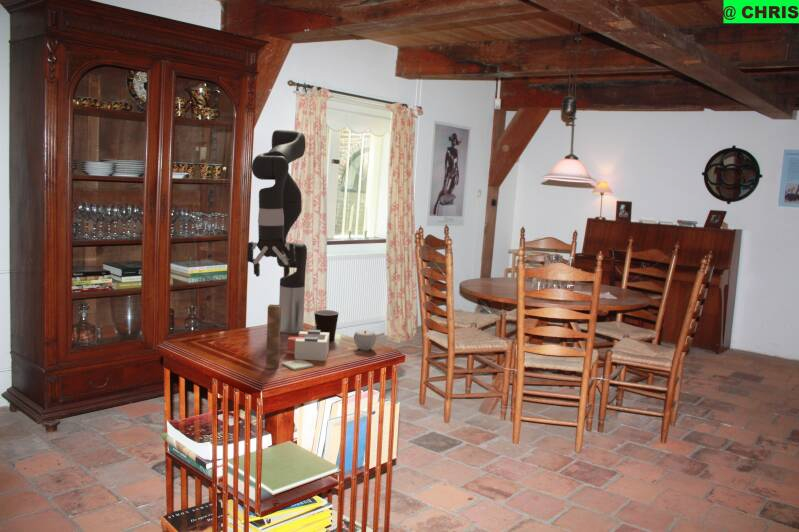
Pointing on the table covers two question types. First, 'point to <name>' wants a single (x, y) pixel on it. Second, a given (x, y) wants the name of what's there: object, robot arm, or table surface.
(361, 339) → the lidded sugar bowl
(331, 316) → the coffee mug
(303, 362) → the coaster
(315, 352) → the box
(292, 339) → the plunger
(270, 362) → the walnut stick
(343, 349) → the table surface
